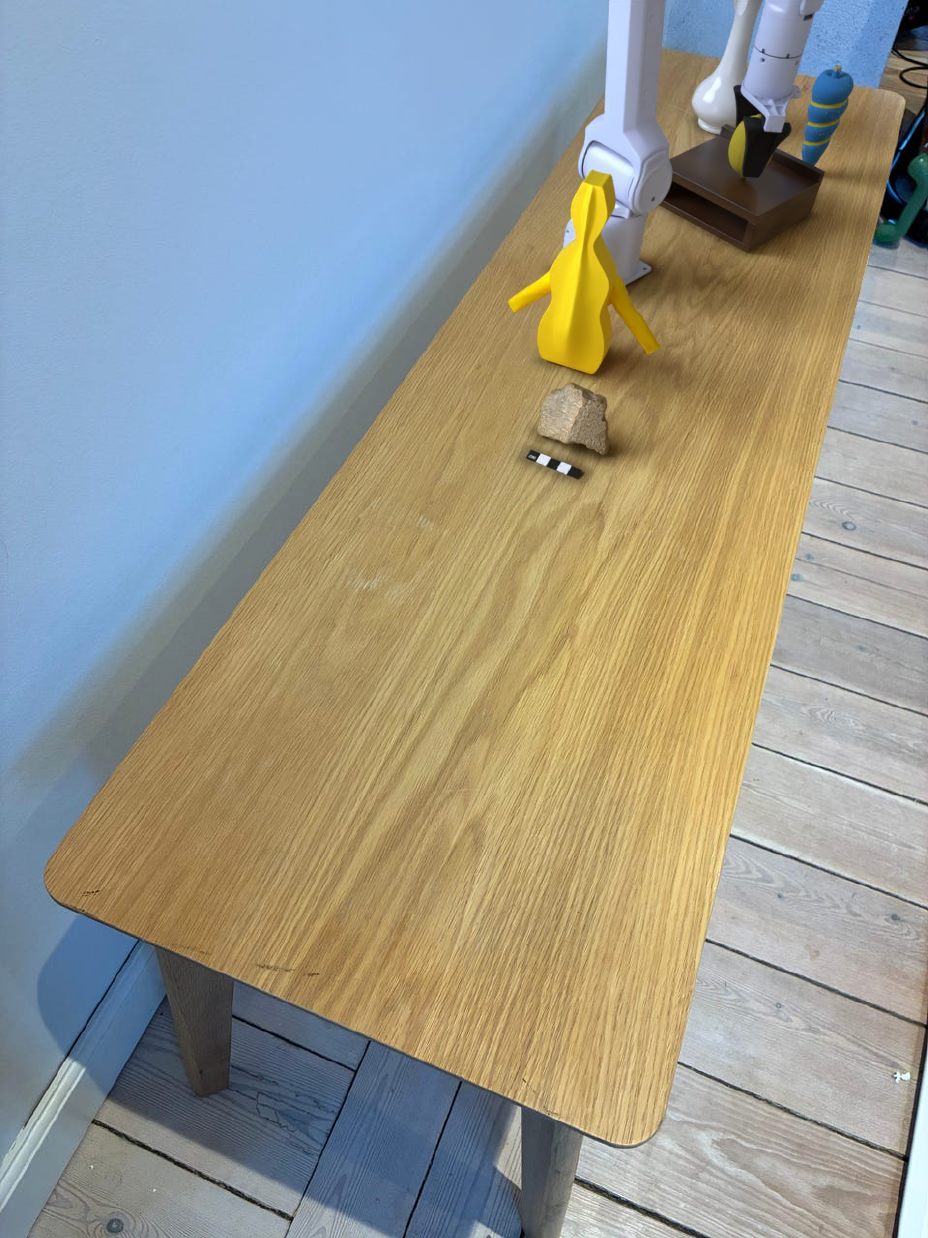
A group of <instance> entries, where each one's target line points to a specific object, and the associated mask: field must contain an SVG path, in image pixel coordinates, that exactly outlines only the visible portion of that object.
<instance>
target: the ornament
mask: <svg viewBox="0 0 928 1238" xmlns="http://www.w3.org/2000/svg"><path fill="white" fill-rule="evenodd" d="M842 68H843V65H841V64H838V63H836V64H835V65H834V67H833V68H830V69H825V70H823V71H822V72H820V74H818V76H817V77H816V79H815V80H814V82H813V84H812V89H811V102H810V103H809V105H808V108H807V118H808V122H807V124H806V125H805V129H804V143H803V144H802V147H801V158H802V159H801V160H803V161H805V162H807V163H809V164H811V165H813V166H815V167H816V164H817V163H818V162H819V160H820V159H821V157H822V156H823V154H824V153H825V152H826V150H827V149H828V147H829V145H830V142H831V140H832V139H831V138H832V136H833V134H834V133H835V131H836V130H837V128H838V127H839V124H840V121H841V117H842V116H843V114H844V113H845V112H846V110H847V108H848V106H849V102H850V101H849V97H850V95H851V94H852V92H853V90H854V86H855V85H854V79H853V78H852V76H851V75H850V74H849V73H848V72H846V71H843V70H842Z"/></svg>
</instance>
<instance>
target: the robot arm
mask: <svg viewBox="0 0 928 1238" xmlns="http://www.w3.org/2000/svg"><path fill="white" fill-rule="evenodd" d="M666 1H667V0H608V21H607V23H608V24H607V45H606V66H605V68H606V69H605V92H604V93H605V94H604V112H603V113H600V115H598V116H596V117H595V118H593V120H591V122H590V123H589V124H588V125H586V127H585V129H584V142H583V146H582V148H581V151H580V154H579V158H578V164H577V170H578V174H579V176H580V178H581V179H582V180H583V181H584V179H585V178H586V176H587V175H588V173H589V172H590V171H591V170H592V169H593V170H595V171H598V172H602V173H606V174H611V175H612V178H613V184H614V190H615V196H616V204H615V208H614V211H613V213H612V215H611V217H610V218H609V220H608V221H607V223H606V225H605V226H604V228H603V229H602V237H603V240H604V242H605V245H606V247H607V249H608V251H609V252H610V254H611V256H612V258H613V260H614V262H615V264H616V267H617V274H618V275H619V276H620V277H621V278H622V279H623V281H624V285H625V286H627V285H629V284H631V283H633V282H634V281H636V280H638V279H639V278H642V277H643V276H645V275H647V274H649V273H650V272H652V267H651V265H649V264H647V263H645V262H644V261H642V260H640V254H641V250H642V245H643V240H644V236H645V231H646V226H647V221H648V217H649V213H651V212H652V211H654V210H655V209H656V208H658V207H659V206H660V205H659V204H660V203H661V202H662V201H663V199H664V198H665V196H666V195H667V193H668V191H669V188H670V185H671V181H672V165H671V163H670V161H669V159H670V141H668V138H667V136H666V135H665V133H664V131H663V129H662V127H661V126H660V124H659V122H658V120H657V118H656V117H657V116H656V115H657V106H658V104H657V103H658V94H659V93H658V92H659V84H660V83H659V82H660V69H661V58H662V48H663V36H664V35H663V34H664V25H665V14H666ZM824 2H825V0H765V1H764V5H763V9H762V13H761V17H760V20H759V23H758V24H759V25H758V28H757V32H756V36H755V39H754V44H753V48H752V51H751V55H750V59H749V62H748V65H747V73H746V76H745V78H744V80H743V82H742V85H735V86H734V87H733V90H734V95H735V102H736V125H735V130H736V128H737V127H738V125H739V124H740V123H741V122H742V121H743V122H744V127H745V151H744V158H743V165H742V174H743V177H752V178H759V177H760V175H761V174H762V172H763V170H764V168H765V167H766V165H767V163H768V161H769V159H770V158H771V156H772V154H773V153H774V151H775V150H776V149H777V148H778V147H779V146H780V145H781V144H782V143H783V142H784V141H785V140H786V139H787V138H788V137H789V136H790V134H791V133H792V130H793V128H792V125H791V122H788V121H786V118H787V114H786V112H787V109H788V107H789V104H790V102H791V100H792V99H797V100H798V99H800V98H801V96H802V90H801V87H799V86H798V85H796V84H795V81H796V78H797V74H798V71H799V68H800V66H801V65H800V64H801V61H802V57H803V54H804V51H805V48H806V45H807V41H808V38H809V35H810V31H811V28H812V25H813V21H814V19H815V15H816V12H819V11H820V9H821V7H822V6H823V5H824ZM758 114H761V118H760V117H751V116H755V115H758ZM563 236H564V237H563V243H562V244H563V245H562V249H563V248H564V247H565V246H567V245H568V244H569V243H570V242H572V241H573V240H574V239H575V238H576V234H575V230H574V227H573V223H572V219H571V218H570V219H569V220H568V222H567V223H566V227H565V231H564V235H563Z"/></svg>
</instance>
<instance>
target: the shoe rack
mask: <svg viewBox="0 0 928 1238" xmlns="http://www.w3.org/2000/svg"><path fill="white" fill-rule="evenodd" d="M734 132H735V128H734V127H732V126H730V125H728V124H725V125H723V126H722V128H721V132H720V135H718V134H717V135H716V136H714V137H712V138H710V139H708V140H706V141H704V142H702V143H700V144H698V145H696V146H694V147H692V148H690V149H687V150H686V151H683V152H682V153H681V152H680V154H677V155H675V156H673V157H671V158H669V161H670V163H671V165H672V181H671V185H670V188H669V191H668V193H667V195H666V196H665V198H664V199H663V201H662V202H661V203H660V204H659V205H658V206H661V207H662V208H664V209H666V210H668V211H670V212H672V213H673V214H675V215H677V216H679V217H681V218H682V219H684V220H686V221H687V222H690V223H692V224H694V225H695V226H697V227H699V228H701V229H703V230H705V231H707V232H709V233H710V234H712V235H714V236H716V237H718V238H719V239H722V240H723V241H725V242H727V243H728V244H730V245H733V246H734V247H736V248H737V249H740V250H741V251H744V252H745V253H747V254H748V253H750V252H751V251H754V250H755V249H757V248H759V247H760V246H762V245H763V244H765V243H767V242H768V241H771V239H774V238H775V237H777V236H779V235H780V234H782V233H784V232H786V231H787V230H789V229H791V228H792V227H794V226H796V225H798V224H799V223H801V222H803V221H804V220H806V219H808V218H809V217H810V216H811V215H812V211H813V208H814V205H815V203H816V200H817V196H818V194H819V192H820V188H821V186H822V182H823V180H824V177H825V173H826V171H825V170H824V169H822V168H819V167H817V166H816V165H815V166H813V165H811V164H809V163H807V162H805V161H803V160H802V159H801V158H798V157H797V156H795V155H793V154H790V153H788V152H786V151H784V150H782V149H780V148H778V147H777V149H776V150H775V151H774V153H773V155H772V158H771V160H770V161H769V163H768V165H767V166H766V167H765V168H764V170H763V172H762V174H761V175H760V177H759V178H752V177H746V178H742V177H741V176H740V174H739V173H737V172H736V171H735V170H734V169H733V168H732V166H731V164H730V162H729V156H728V151H729V145H730V141H731V139H732V136H733V134H734Z"/></svg>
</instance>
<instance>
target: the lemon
mask: <svg viewBox="0 0 928 1238" xmlns="http://www.w3.org/2000/svg"><path fill="white" fill-rule="evenodd" d="M751 117H760V118H761V114H758V115H755V116H751ZM744 151H745V127H744V122H743V121H742V122H741V123H740V124H739V125H738V127H737V128H736V130H735V132H734V134H733V136H732V139H731V141H730V145H729V151H728V156H729V162H730V164H731V166H732V168H733V169H734V170H735V171H736V172H737V173H739V174H740V176H741V177H742V178H746V177H743V174H742V165H743V158H744ZM772 155H773V154H772ZM771 158H772V156H771ZM771 158H770V159H769V161H770V160H771ZM769 161H768V163H769ZM768 163H767V165H768ZM767 165H766V166H767Z"/></svg>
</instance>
